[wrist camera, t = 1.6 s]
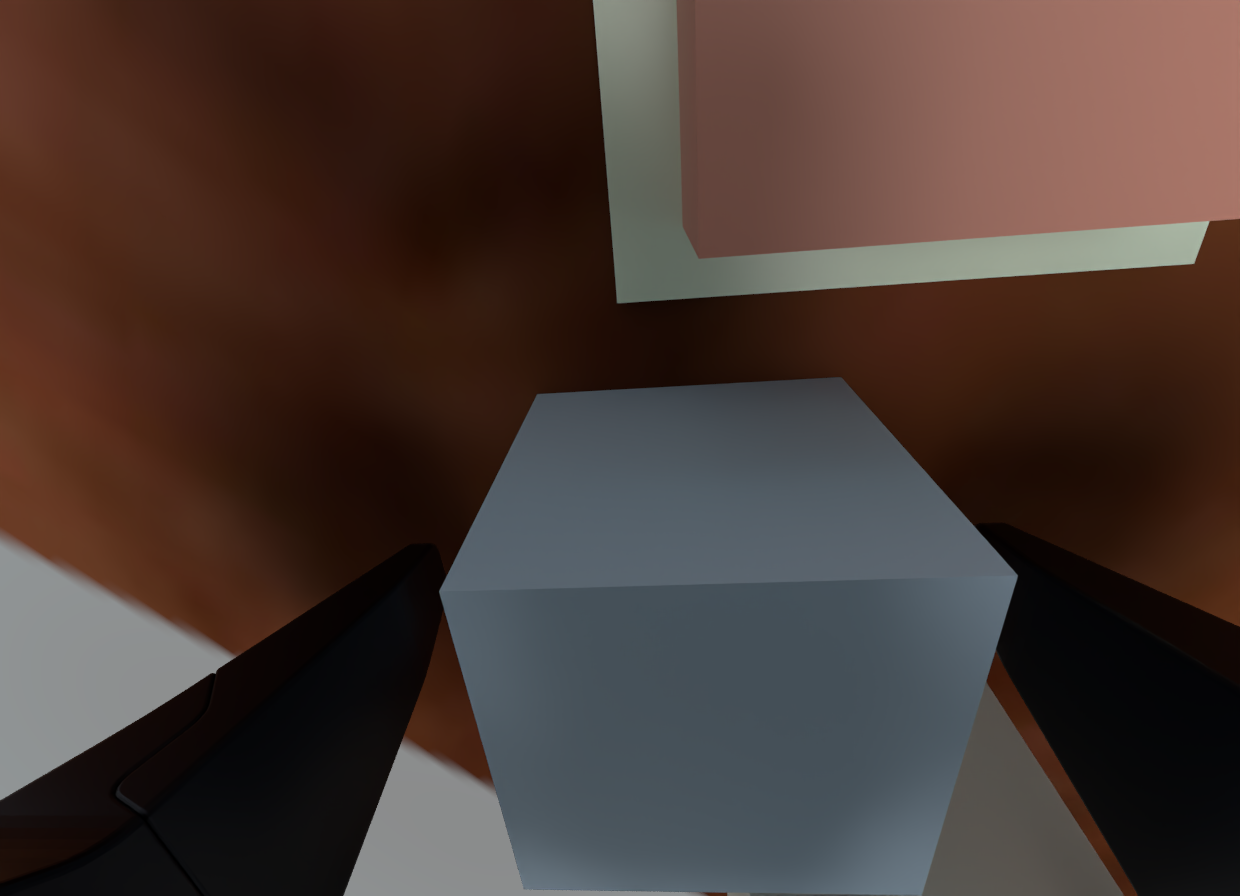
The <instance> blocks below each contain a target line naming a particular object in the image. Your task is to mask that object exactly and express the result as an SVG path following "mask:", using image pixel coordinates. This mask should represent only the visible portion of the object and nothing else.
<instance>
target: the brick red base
mask: <svg viewBox="0 0 1240 896" xmlns="http://www.w3.org/2000/svg"><path fill="white" fill-rule="evenodd" d="M677 37H678V74H679V111H680V149H681V186H682V223H683V228H684V230H685V232H686V234H687V236H688V238H689V240H690V242H691V244H692V246H693V248H694V250H695V252H696V254H697V256H698V258H699V259H703V258H717V257H730V256H744V255H757V254H771V253H784V252H798V251H811V250H825V249H838V248H852V247H865V246H879V245H892V244H906V243H919V242H933V241H946V240H960V239H973V238H987V237H1000V236H1014V235H1027V234H1041V233H1054V232H1068V231H1081V230H1095V229H1108V228H1122V227H1135V226H1149V225H1162V224H1176V223H1189V222H1203V221H1216V220H1230V219H1240V0H677Z"/></svg>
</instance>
